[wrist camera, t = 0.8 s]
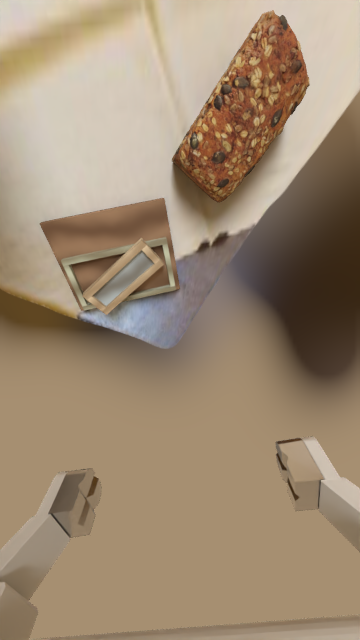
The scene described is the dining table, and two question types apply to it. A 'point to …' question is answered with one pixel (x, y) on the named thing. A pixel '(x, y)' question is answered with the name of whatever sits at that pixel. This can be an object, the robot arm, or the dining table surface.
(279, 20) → the bread
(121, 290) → the frame
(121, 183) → the dining table surface
